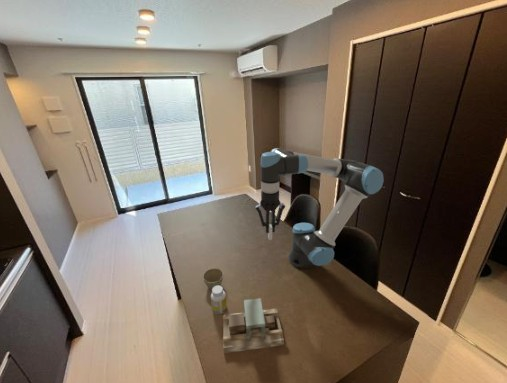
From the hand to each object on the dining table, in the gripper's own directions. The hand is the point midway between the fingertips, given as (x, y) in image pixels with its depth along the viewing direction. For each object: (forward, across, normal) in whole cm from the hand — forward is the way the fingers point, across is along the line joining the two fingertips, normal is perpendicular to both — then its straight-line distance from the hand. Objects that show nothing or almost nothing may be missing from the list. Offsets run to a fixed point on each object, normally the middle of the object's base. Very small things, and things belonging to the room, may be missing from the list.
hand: (270, 238), depth 103 cm
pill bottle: (+30, +25, +9) cm, 40 cm away
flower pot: (+30, +28, -5) cm, 41 cm away
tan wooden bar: (+26, +12, +22) cm, 36 cm away
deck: (+29, +12, +22) cm, 38 cm away
